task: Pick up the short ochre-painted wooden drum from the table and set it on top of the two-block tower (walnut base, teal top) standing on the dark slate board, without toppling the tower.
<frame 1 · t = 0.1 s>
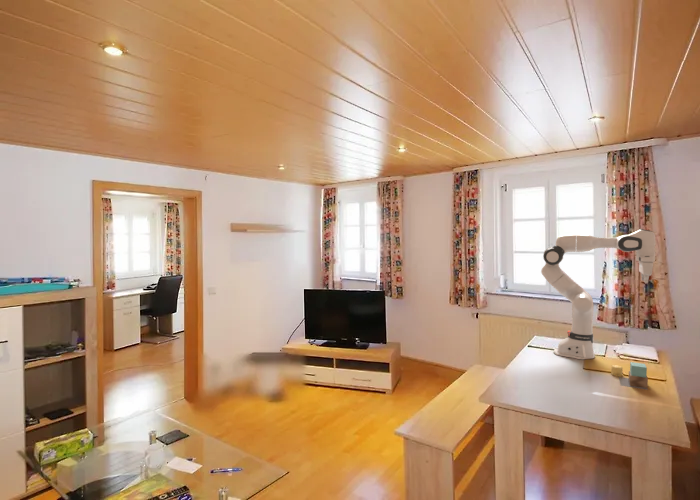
hand: (644, 281, 229), 48 cm above the table, fingers open, 8 cm apart
block base: (637, 384, 198), point 1 cm above the table, touching block top, slate board
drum: (616, 376, 212), on the table
block top: (638, 374, 198), point 6 cm above the table, touching block base
slate board: (632, 384, 200), on the table
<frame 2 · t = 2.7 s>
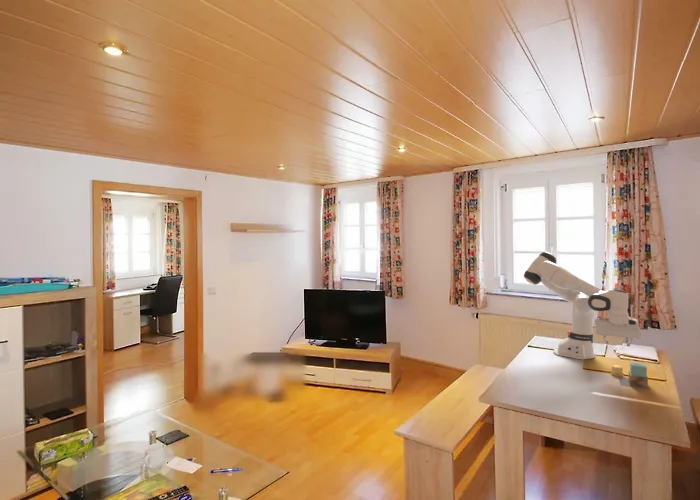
hand: (617, 344, 211), 17 cm above the table, fingers open, 8 cm apart
nothing on the table moved.
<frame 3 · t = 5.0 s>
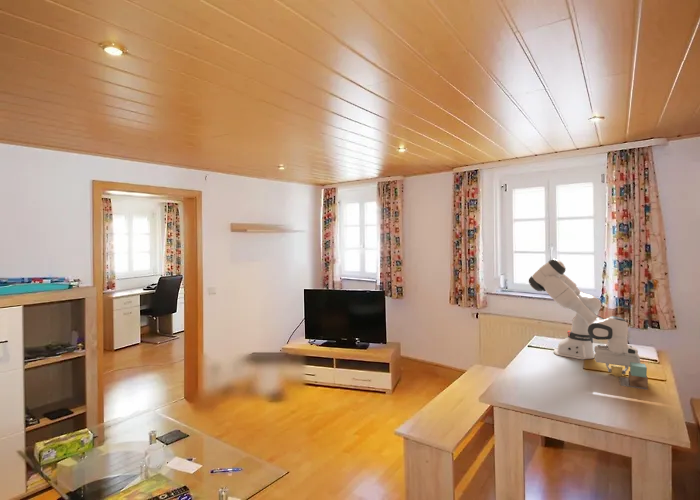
hand: (616, 372, 212), 2 cm above the table, fingers closed on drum, 5 cm apart
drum: (616, 375, 212), on the table, touching gripper
everything else where it was.
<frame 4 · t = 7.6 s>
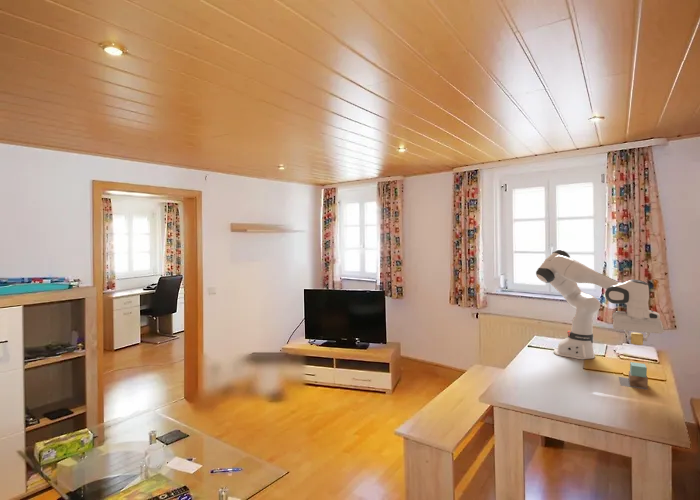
hand: (636, 340, 197), 23 cm above the table, fingers closed on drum, 5 cm apart
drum: (636, 343, 197), point 21 cm above the table, touching gripper
everything else where it was.
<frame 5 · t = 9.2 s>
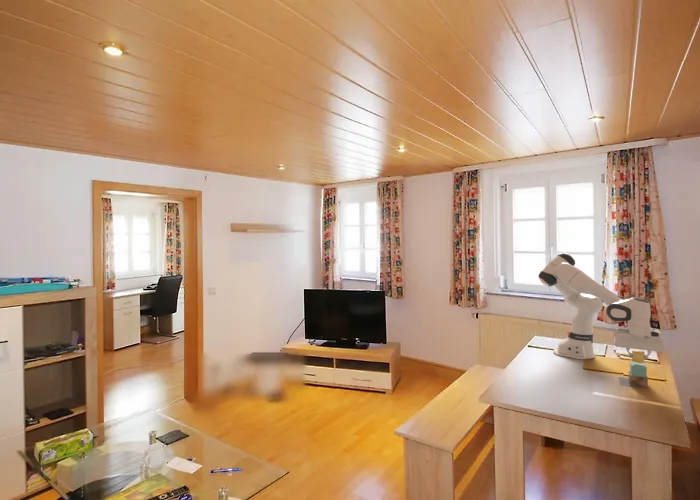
hand: (638, 357, 197), 14 cm above the table, fingers closed on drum, 5 cm apart
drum: (637, 361, 197), point 13 cm above the table, touching gripper
everything else where it was.
when the fingers open (14 cm above the table, at t = 10.6 s): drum stays where it is, resting on block top.
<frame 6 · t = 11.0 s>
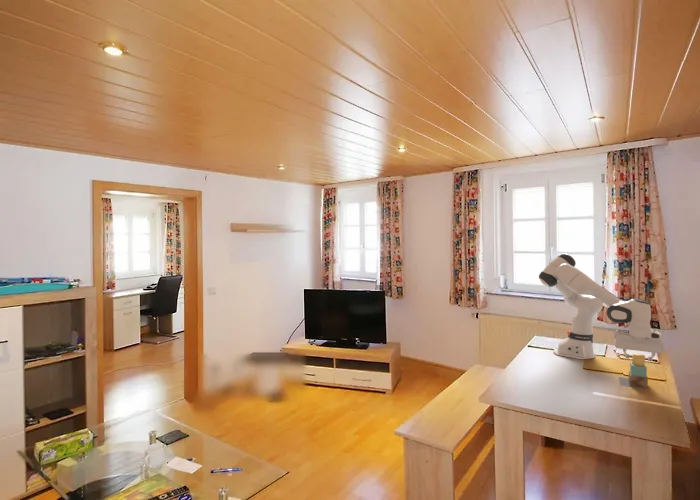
hand: (638, 359, 197), 14 cm above the table, fingers open, 8 cm apart
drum: (638, 364, 198), point 11 cm above the table, touching block top
block top: (638, 374, 198), point 6 cm above the table, touching block base, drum
everything else where it was.
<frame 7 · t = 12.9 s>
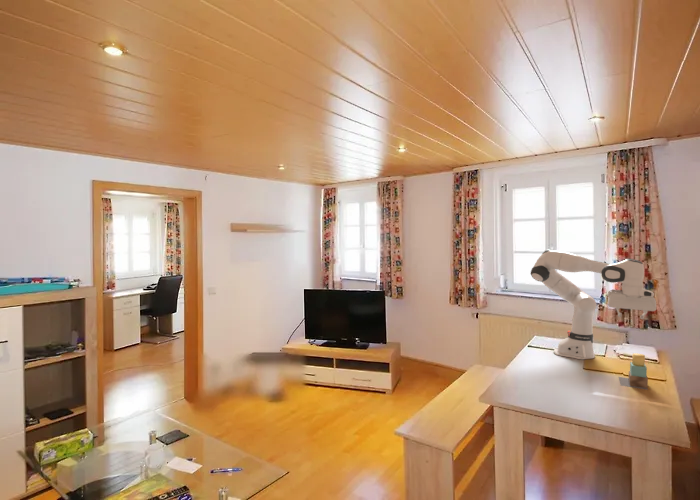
hand: (630, 317, 204), 33 cm above the table, fingers open, 8 cm apart
nothing on the table moved.
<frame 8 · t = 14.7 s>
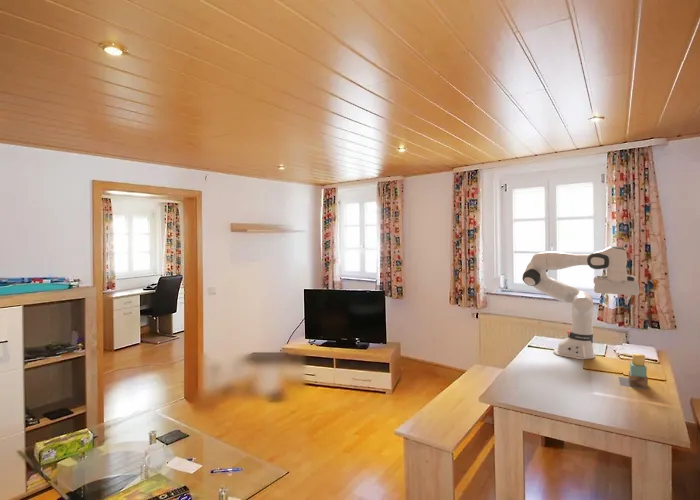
hand: (615, 302, 213), 39 cm above the table, fingers open, 8 cm apart
nothing on the table moved.
at the end: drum 0.0 cm off-centre on the block top, point 5.0 cm above the block top's base; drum tilted 0°; block top tilted 0° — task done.
